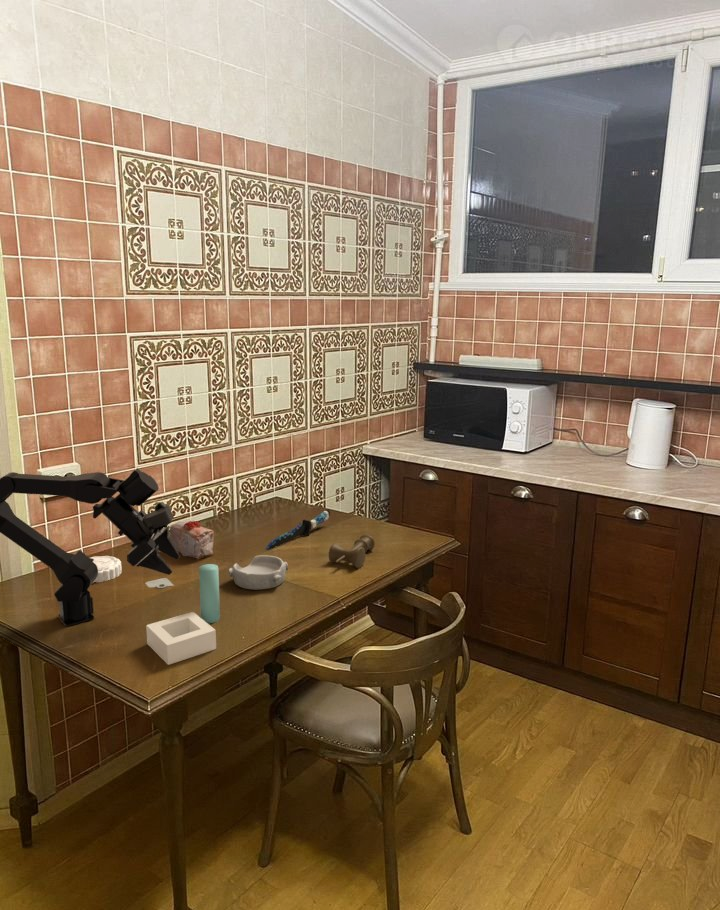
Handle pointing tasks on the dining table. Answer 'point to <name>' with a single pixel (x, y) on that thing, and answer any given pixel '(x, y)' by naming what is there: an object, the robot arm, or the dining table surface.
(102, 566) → the mooncake
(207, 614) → the teal dowel
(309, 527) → the knife
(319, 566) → the dining table surface
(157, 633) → the well block
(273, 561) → the dish
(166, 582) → the mounting bracket
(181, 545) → the food item
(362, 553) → the kendama
